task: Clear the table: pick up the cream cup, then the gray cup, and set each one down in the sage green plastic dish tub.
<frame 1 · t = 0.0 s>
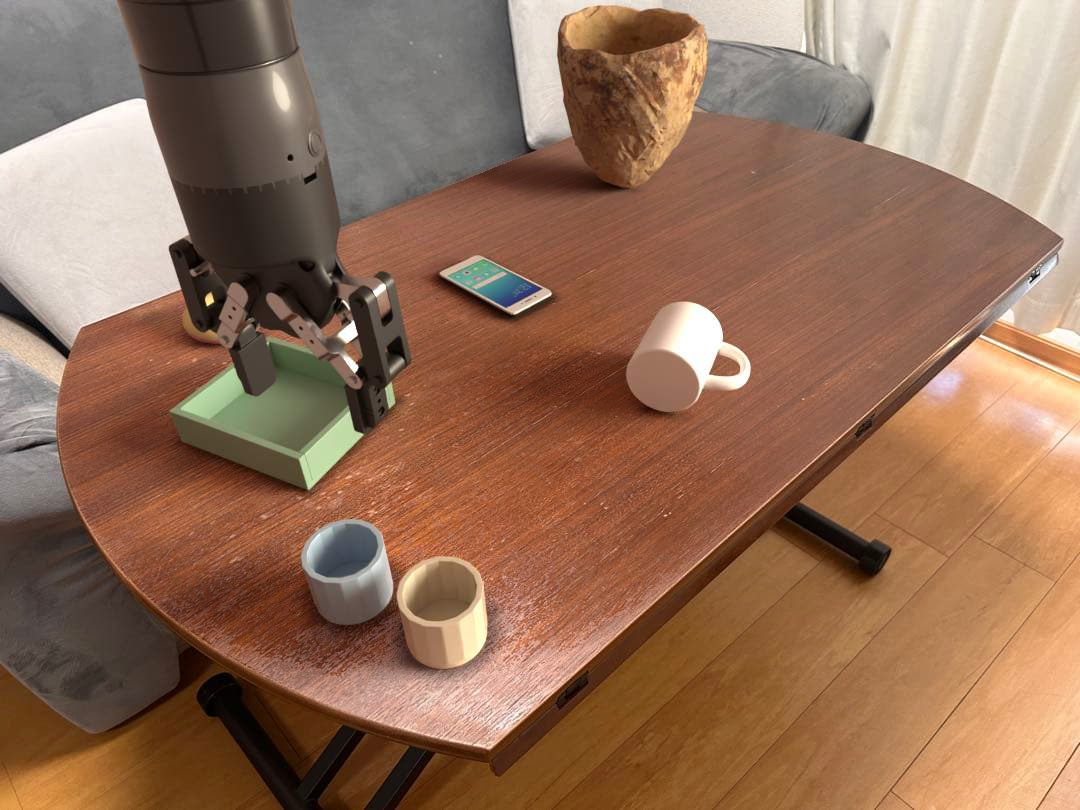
hand: (315, 406, 47), 22 cm above the table, tool pointing down, fingers open, 8 cm apart
dish tub: (291, 421, 80), on the table
smartphone: (494, 288, 101), on the table
mug: (689, 390, 83), on the table
gray cup: (354, 592, 63), on the table
rough brown clay pot: (622, 184, 127), on the table
donut: (228, 328, 95), on the table
cream cup: (447, 632, 60), on the table
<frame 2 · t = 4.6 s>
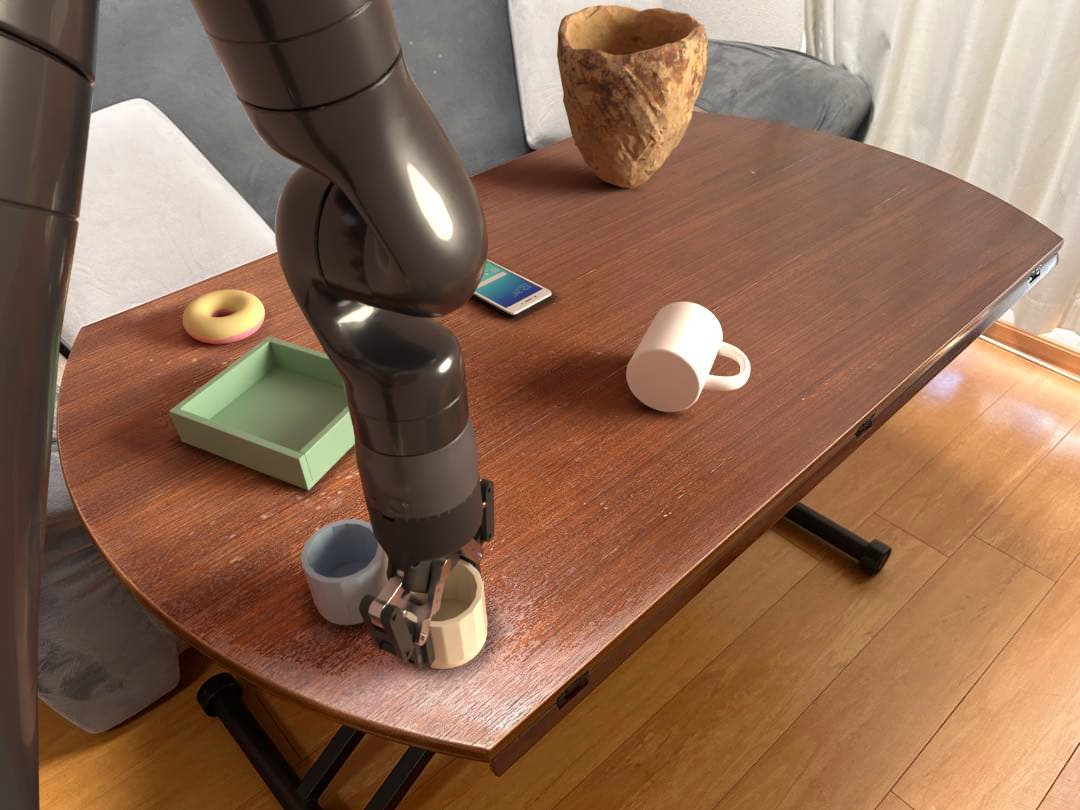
hand: (445, 623, 59), 1 cm above the table, tool pointing down, fingers closed on cream cup, 6 cm apart
cream cup: (447, 632, 60), on the table, touching gripper
everything else where it was.
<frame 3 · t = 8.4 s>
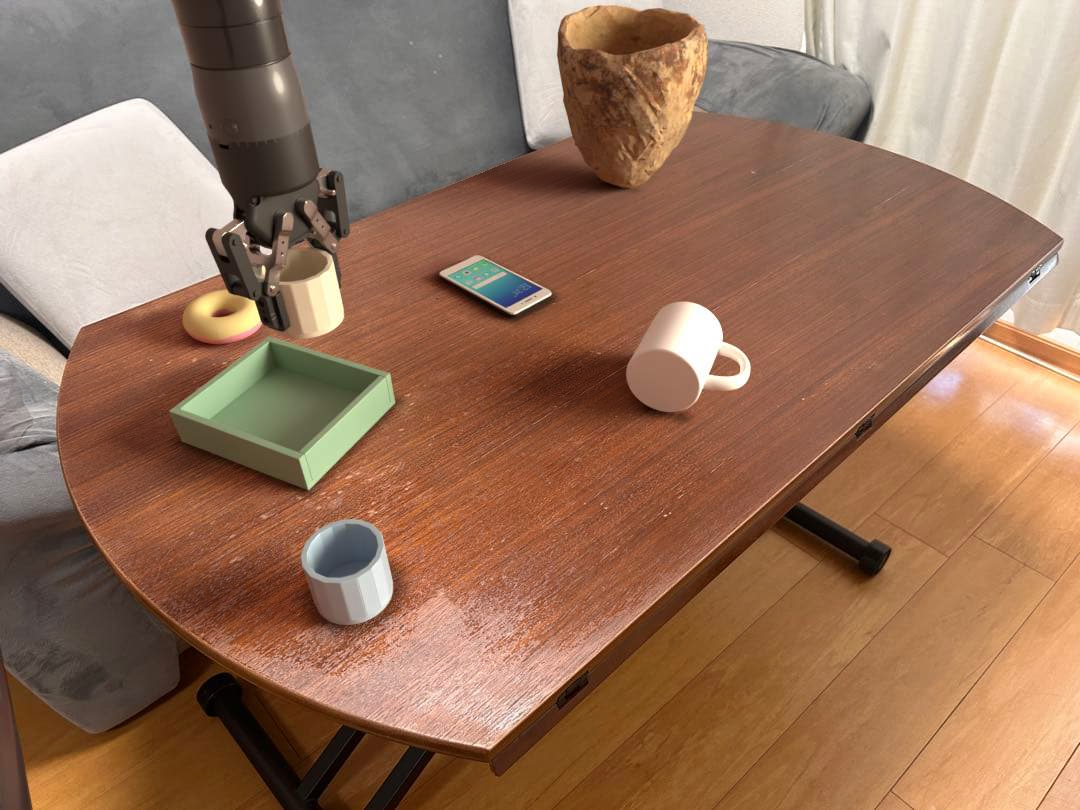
hand: (305, 307, 68), 16 cm above the table, tool pointing down, fingers closed on cream cup, 6 cm apart
cream cup: (308, 318, 68), point 15 cm above the table, touching gripper
everything else where it was.
when the fingers open (2 cm above the table, at t = 12.5 s): cream cup stays where it is, resting on dish tub.
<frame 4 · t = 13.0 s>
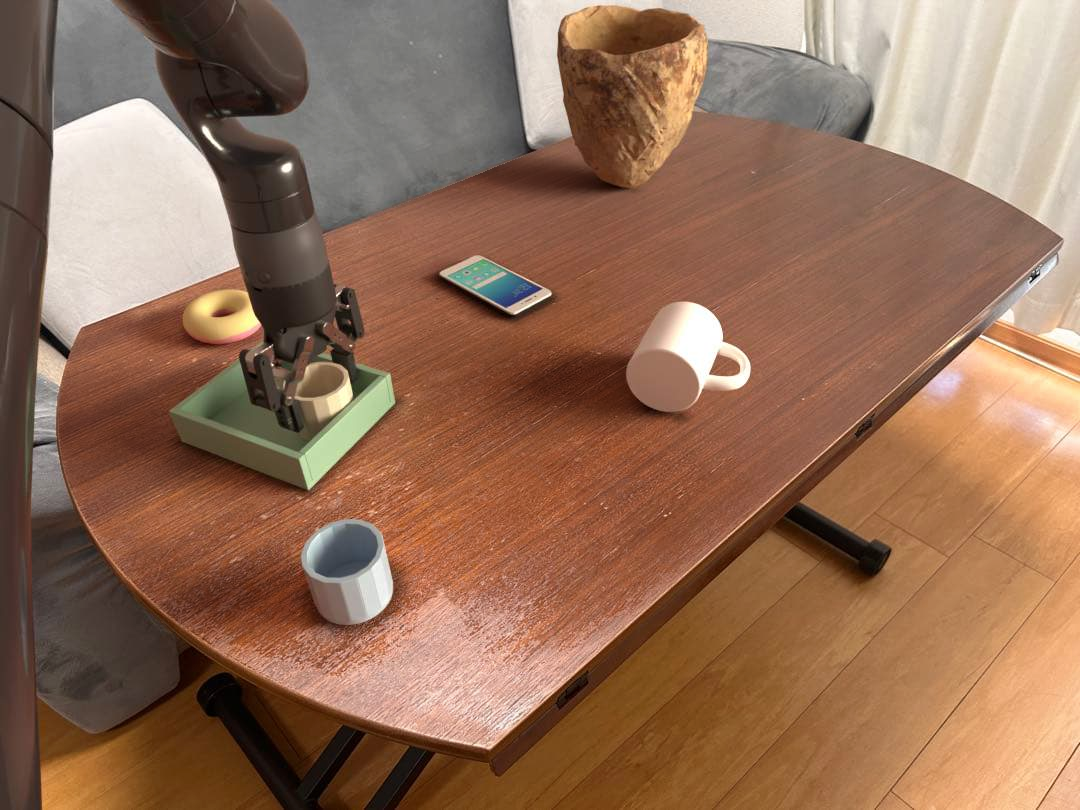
hand: (321, 403, 77), 3 cm above the table, tool pointing down, fingers open, 8 cm apart
cream cup: (326, 422, 79), point 1 cm above the table, touching dish tub
everything else where it was.
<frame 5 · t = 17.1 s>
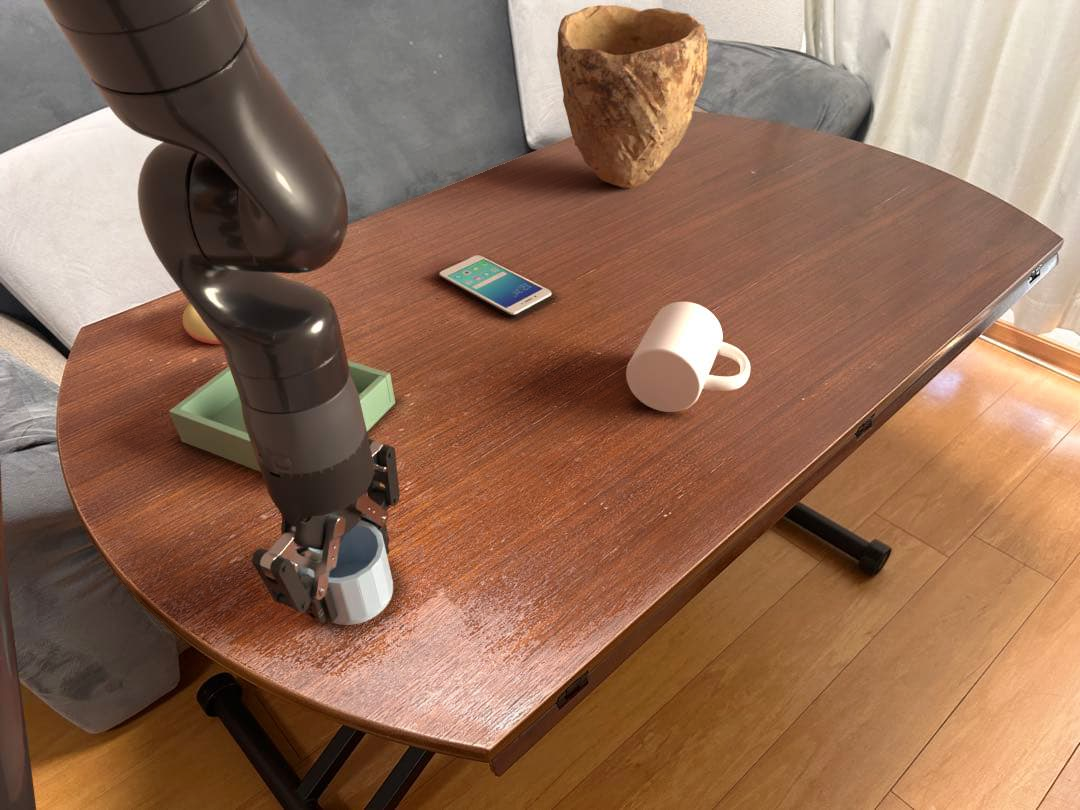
hand: (351, 583, 62), 1 cm above the table, tool pointing down, fingers closed on gray cup, 6 cm apart
gray cup: (354, 592, 63), on the table, touching gripper
everything else where it was.
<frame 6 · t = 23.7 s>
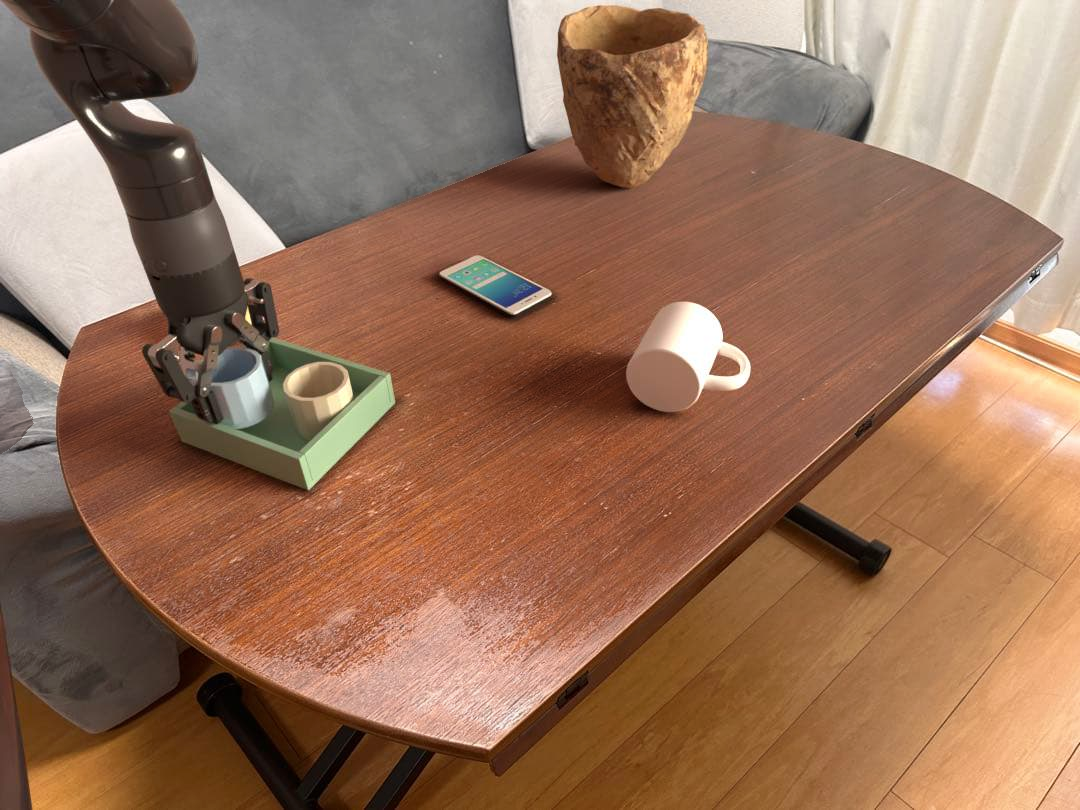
hand: (238, 399, 76), 4 cm above the table, tool pointing down, fingers closed on gray cup, 6 cm apart
gray cup: (242, 408, 77), point 3 cm above the table, touching gripper
everything else where it was.
when the fingers open (4 cm above the table, at t = 28.7 s): gray cup drops 3 cm, resting on dish tub.
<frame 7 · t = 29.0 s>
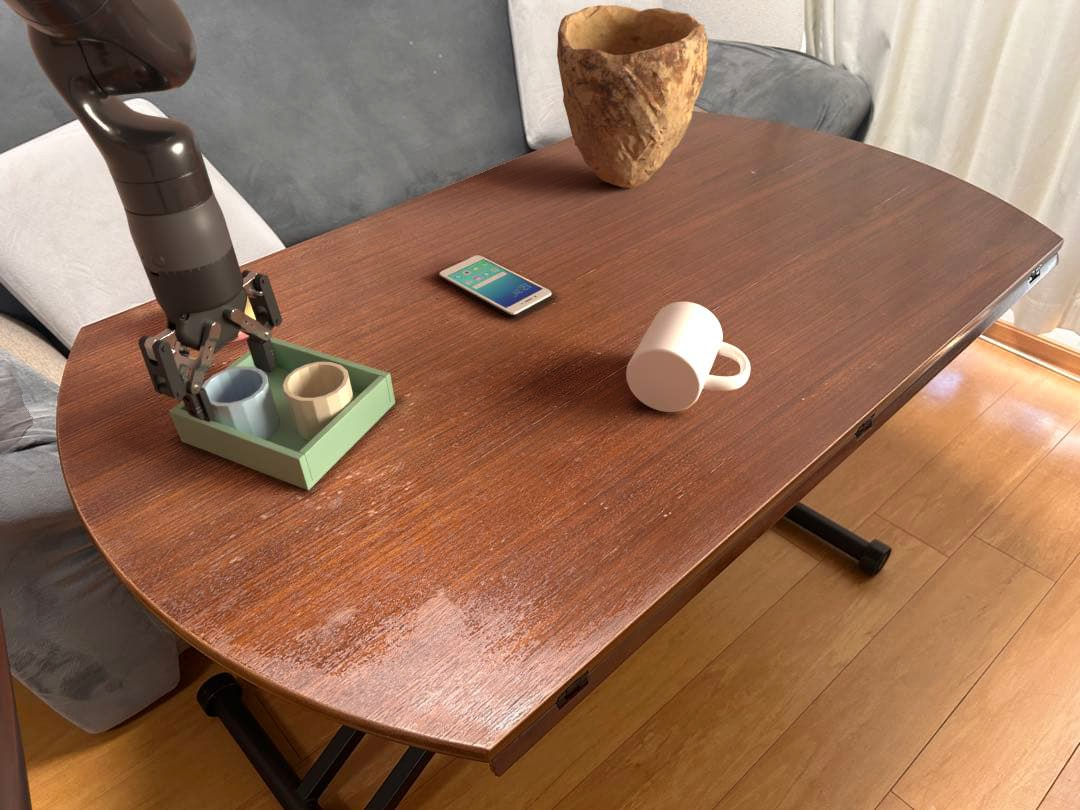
hand: (236, 392, 76), 5 cm above the table, tool pointing down, fingers open, 8 cm apart
gray cup: (248, 427, 79), point 1 cm above the table, touching dish tub
everything else where it was.
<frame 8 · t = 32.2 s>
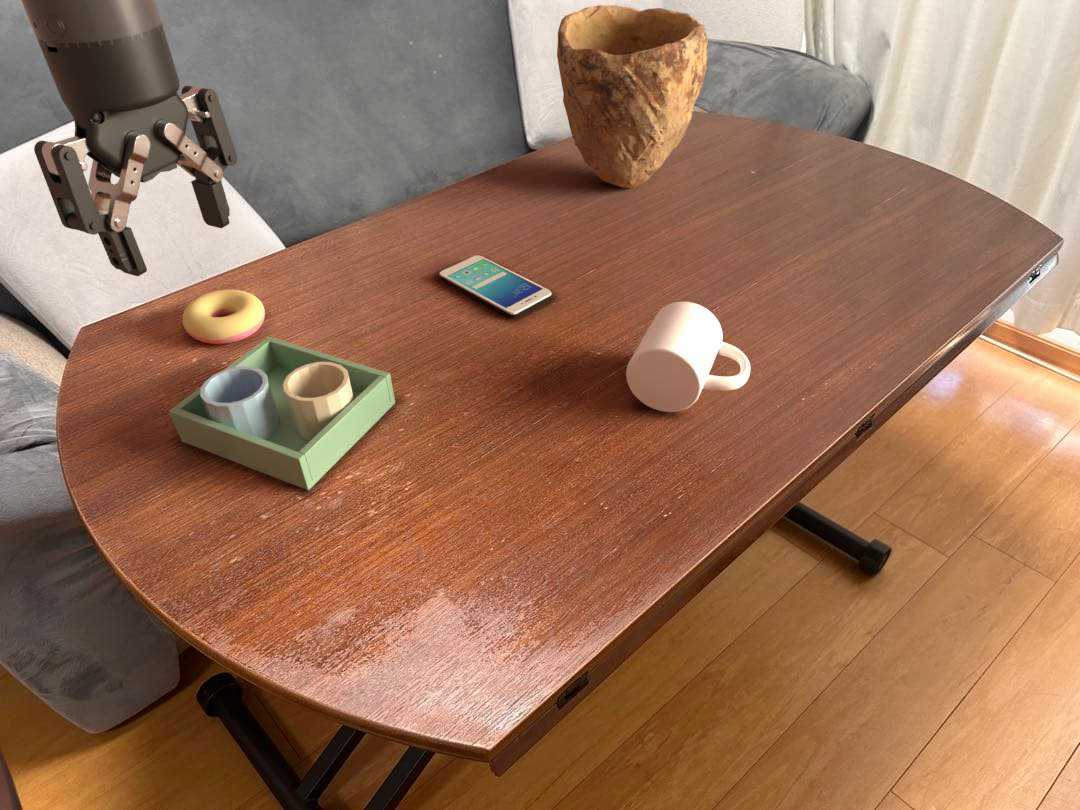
hand: (178, 247, 60), 24 cm above the table, tool pointing down, fingers open, 8 cm apart
nothing on the table moved.
at the end: cream cup inside the target area in the dish tub (4.1 cm from its centre), point 0.6 cm above the dish tub's base; gray cup inside the target area in the dish tub (4.2 cm from its centre), point 0.6 cm above the dish tub's base; gray cup tilted 0° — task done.
